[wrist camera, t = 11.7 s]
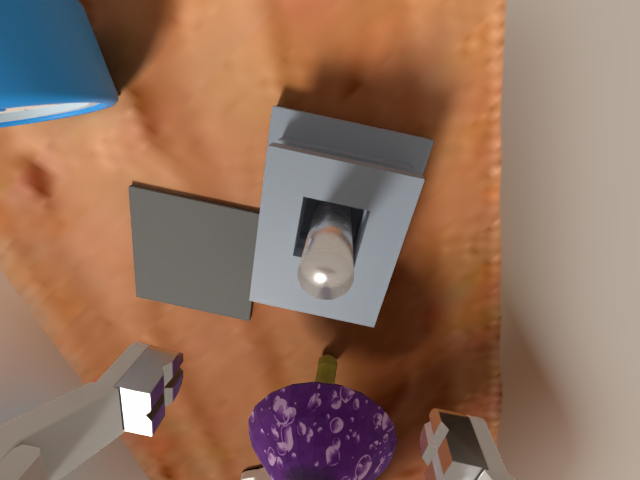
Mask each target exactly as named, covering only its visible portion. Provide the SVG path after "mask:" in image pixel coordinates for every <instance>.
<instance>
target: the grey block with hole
mask: <svg viewBox="0 0 640 480" xmlns="http://www.w3.org/2000/svg"><path fill="white" fill-rule="evenodd" d="M433 143H434V141H433V140H431V139H429V138H425V137H420V136H415V135H411V134H406V133H401V132H397V131H392V130H388V129H383V128H378V127H374V126H369V125H364V124H360V123H355V122H351V121H346V120H341V119H337V118H332V117H327V116H323V115H318V114H314V113H309V112H304V111H300V110H295V109H290V108H286V107H281V106H272V113H271V122H270V130H269V139H268V146H267V155H266V163H265V171H264V180H263V188H262V197H261V205H260V213H259V222H258V230H257V239H256V247H255V255H254V264H253V272H252V281H251V289H250V298H249V301H253V302H257V303H262V304H267V305H271V306H276V307H281V308H285V309H290V310H295V311H299V312H304V313H308V314H313V315H318V316H322V317H327V318H332V319H336V320H341V321H345V322H350V323H355V324H359V325H364V326H369V327H373V328H374V326H375V323H376V320H377V317H378V314H379V311H380V308H381V305H382V302H383V300H384V297H385V294H386V291H387V288H388V285H389V282H390V279H391V276H392V273H393V271H394V268H395V265H396V262H397V259H398V256H399V253H400V250H401V247H402V244H403V242H404V239H405V236H406V233H407V230H408V227H409V224H410V221H411V218H412V215H413V213H414V210H415V207H416V204H417V201H418V198H419V195H420V192H421V189H422V186H423V184H424V181H425V179H424V178H423V177H422V175H423V172H424V169H425V166H426V163H427V161H428V158H429V155H430V152H431V149H432V146H433ZM320 201H326V202H331V203H335V204H340V205H345V206H349V207H350V210H351V224H352V243H353V262H354V281H353V284H352V286H351V288H350V289H349V291H348V292H347V293H346V294H344V295H343V296H341V297H339V298H336V299H332V300H322V299H317V298H315V297H312V296H310V295H309V294H308V293H306V292H305V291H304V290H303V289H302V287H301V286H300V284H299V281H298V275H297V273H298V268H299V264H300V261H301V257H302V254H303V250H304V247H305V243H306V239H307V236H308V232H309V229H310V225H311V222H312V218H313V215H314V211H315V208H316V206H317V204H318V203H319V202H320Z"/></svg>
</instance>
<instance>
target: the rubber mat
mask: <svg viewBox="0 0 640 480" xmlns="http://www.w3.org/2000/svg"><path fill="white" fill-rule="evenodd" d="M129 198H130V212H131V226H132V240H133V255H134V269H135V283H136V297H140V298H145V299H149V300H154V301H159V302H163V303H168V304H173V305H177V306H182V307H186V308H191V309H196V310H200V311H205V312H210V313H214V314H219V315H224V316H228V317H233V318H237V319H242V320H247V321H249V320H250V317H251V309H252V301H249V298H250V289H251V281H252V272H253V264H254V255H255V247H256V239H257V230H258V222H259V212H254V211H249V210H245V209H240V208H236V207H231V206H226V205H222V204H217V203H212V202H208V201H203V200H199V199H194V198H189V197H185V196H180V195H175V194H171V193H166V192H161V191H157V190H152V189H148V188H143V187H138V186H134V185H130V186H129Z"/></svg>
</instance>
